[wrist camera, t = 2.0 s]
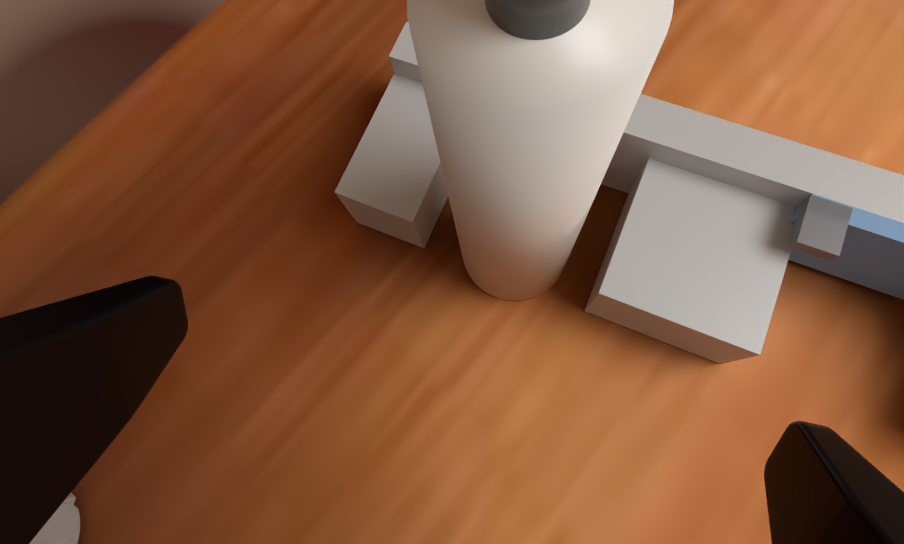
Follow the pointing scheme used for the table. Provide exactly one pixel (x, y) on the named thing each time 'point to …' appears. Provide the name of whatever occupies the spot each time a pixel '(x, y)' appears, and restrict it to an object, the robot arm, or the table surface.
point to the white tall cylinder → (529, 120)
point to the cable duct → (669, 215)
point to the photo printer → (61, 525)
